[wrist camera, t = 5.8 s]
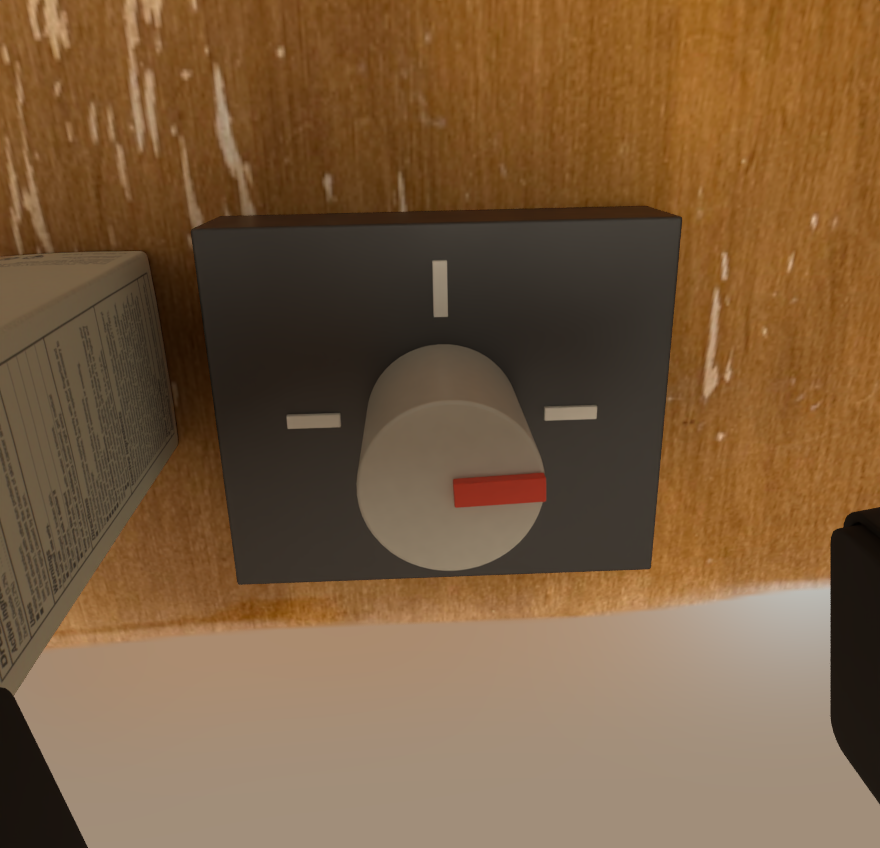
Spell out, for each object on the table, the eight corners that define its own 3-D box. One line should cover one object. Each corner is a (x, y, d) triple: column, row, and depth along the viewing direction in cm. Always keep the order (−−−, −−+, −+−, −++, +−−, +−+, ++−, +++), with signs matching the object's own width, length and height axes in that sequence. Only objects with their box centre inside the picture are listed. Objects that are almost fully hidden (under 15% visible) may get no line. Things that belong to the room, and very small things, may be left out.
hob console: (256, 534, 25) (235, 588, 22) (218, 216, 21) (187, 229, 18) (624, 521, 25) (653, 572, 22) (647, 205, 22) (685, 217, 19)
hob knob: (374, 489, 21) (364, 586, 17) (360, 348, 20) (345, 412, 15) (519, 479, 21) (548, 573, 17) (516, 338, 20) (547, 398, 15)
